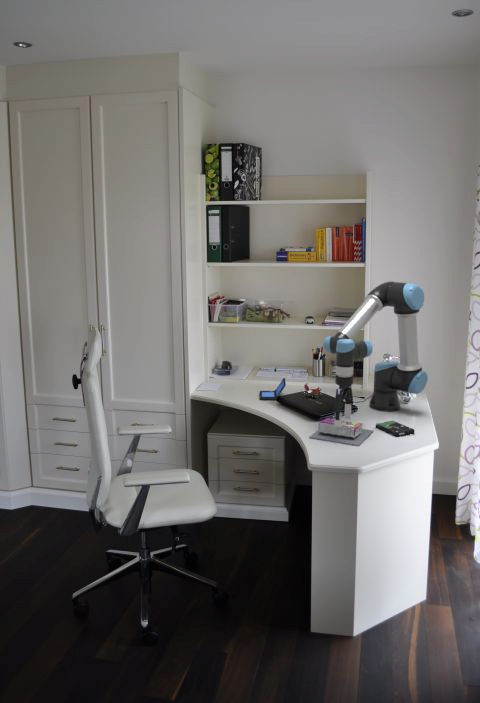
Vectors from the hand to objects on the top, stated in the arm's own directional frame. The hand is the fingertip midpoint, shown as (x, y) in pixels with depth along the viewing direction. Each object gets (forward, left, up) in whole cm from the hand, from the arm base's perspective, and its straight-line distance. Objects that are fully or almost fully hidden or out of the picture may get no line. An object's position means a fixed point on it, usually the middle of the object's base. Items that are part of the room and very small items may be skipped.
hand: (342, 422), depth 294 cm
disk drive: (-17, +19, -6) cm, 26 cm away
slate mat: (0, 0, -6) cm, 6 cm away
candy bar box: (+1, -9, -2) cm, 9 cm away
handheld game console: (-43, -53, -6) cm, 69 cm away
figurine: (-52, -33, -6) cm, 62 cm away
